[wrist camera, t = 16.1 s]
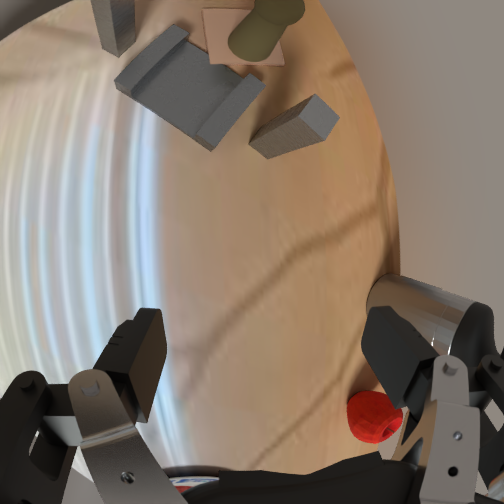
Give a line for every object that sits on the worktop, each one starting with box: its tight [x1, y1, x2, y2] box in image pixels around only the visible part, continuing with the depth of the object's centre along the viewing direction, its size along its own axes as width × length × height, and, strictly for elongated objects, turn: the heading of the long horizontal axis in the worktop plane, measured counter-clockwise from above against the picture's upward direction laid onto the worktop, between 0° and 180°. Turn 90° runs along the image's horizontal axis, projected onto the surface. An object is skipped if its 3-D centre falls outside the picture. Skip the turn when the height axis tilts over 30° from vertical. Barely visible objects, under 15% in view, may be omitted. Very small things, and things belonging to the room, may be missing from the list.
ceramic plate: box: [169, 476, 219, 493], centre depth 36 cm, size 26×26×3 cm
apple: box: [347, 391, 403, 444], centre depth 40 cm, size 10×10×12 cm
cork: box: [228, 0, 305, 62], centre depth 22 cm, size 6×6×11 cm
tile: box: [202, 8, 285, 66], centre depth 27 cm, size 10×10×1 cm
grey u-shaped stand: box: [91, 0, 340, 159], centre depth 21 cm, size 10×26×12 cm, turn 54°
